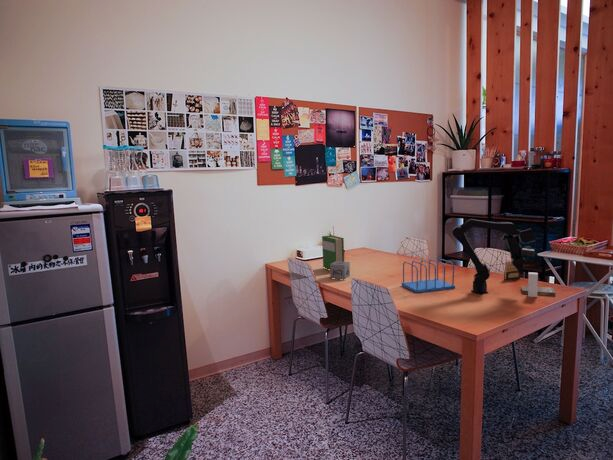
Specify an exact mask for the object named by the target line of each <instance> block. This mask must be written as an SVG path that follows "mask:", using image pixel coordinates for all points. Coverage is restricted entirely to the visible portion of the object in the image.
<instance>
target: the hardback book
mask: <svg viewBox="0 0 613 460" xmlns="http://www.w3.org/2000/svg"><path fill="white" fill-rule="evenodd" d="M321 239H322V241H321V243H322V244H321V245H322V246H321V247H322V268H323V267H325V268H327V269H330V264H331V263H333V262H335V261H340V262H345V246H344V245H345V243H344V237H341V236H336V235H324V236H321Z"/></svg>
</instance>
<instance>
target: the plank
mask: <svg viewBox="0 0 613 460" xmlns="http://www.w3.org/2000/svg"><path fill="white" fill-rule="evenodd" d="M520 290H521V293H522V295H528V285H521V289H520ZM537 296H545V297H547V296H548V297H556V291H555V289H554V288H553V287H544V286H538V291H537Z"/></svg>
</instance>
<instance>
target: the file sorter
mask: <svg viewBox="0 0 613 460" xmlns="http://www.w3.org/2000/svg"><path fill="white" fill-rule="evenodd" d="M440 260H441V261H444V262H446V263H449V264H451V265H452V281H451V282H452V284H451V283H449V282H446V266H445V264H444V263H443V262H441V261H440ZM431 261H433V262H435V263H436V264H437V265H435V263H433V262H431ZM422 262H425V263H427V264H428V269H427V265H426V264H424V263H422ZM414 263H416V264H419V265H420V267H419V268H420V269H419V270H418V267H417V265H415V264H414ZM405 264H408V265H411V281H406V282H405ZM439 264H441V265H442V267H443V280H442V279H440V278H439ZM430 265H433V267H434V279H430V277H431V275H430V273H431V267H430ZM454 265H455V264H454V263H453V262H452V261H450V260H446V259H444V258H443V259H442V258H438V259H437V260H435V259H429V260H428V261H427V260H424V259H423V260H421V261H420V262H419V261H415V260H413V261H412V262H411V263H410V262H407V261H404V262H403V264H402V269H403V270H402V282H401V286H402V287H404V288H406V289H409V290H410V291H412V292H414V293H416V294H419V293H420V292H421V293H428V292H436V291H437V292H438V291H446V290H454V289H456V285H455V284H454V282H455V280H454V279H455V277H454V276H455V266H454ZM422 266H424V268H425V280H424V279H423V280H422ZM413 267H414V268H415V269H416V281H413V280H414V278H413V277H414V276H413V275H414V269H413ZM419 271H420V273H419ZM419 274H420V275H419ZM419 276H420V277H419ZM419 278H420V279H419Z"/></svg>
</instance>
